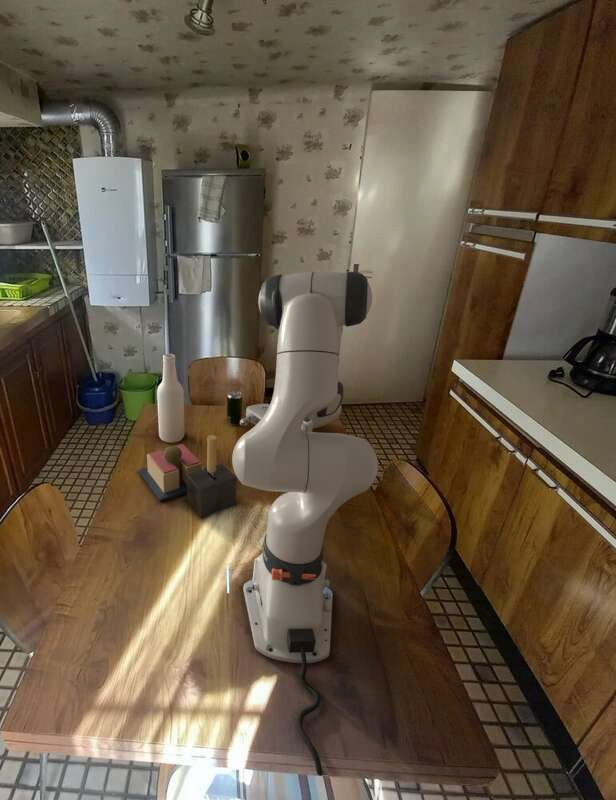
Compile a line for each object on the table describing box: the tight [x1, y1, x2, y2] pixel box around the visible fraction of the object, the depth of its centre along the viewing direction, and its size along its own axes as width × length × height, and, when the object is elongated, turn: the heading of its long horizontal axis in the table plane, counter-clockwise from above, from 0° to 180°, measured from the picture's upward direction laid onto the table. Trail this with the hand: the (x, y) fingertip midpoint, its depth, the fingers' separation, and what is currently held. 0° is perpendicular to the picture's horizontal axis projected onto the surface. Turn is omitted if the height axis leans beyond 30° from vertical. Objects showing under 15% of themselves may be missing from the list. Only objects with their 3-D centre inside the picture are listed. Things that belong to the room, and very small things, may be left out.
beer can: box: [226, 389, 243, 426], centre depth 159 cm, size 5×5×12 cm
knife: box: [206, 434, 218, 480], centre depth 115 cm, size 2×2×21 cm
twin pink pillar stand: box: [138, 443, 203, 503], centre depth 128 cm, size 16×16×8 cm
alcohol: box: [156, 353, 185, 444], centre depth 145 cm, size 9×9×30 cm
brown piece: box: [163, 445, 182, 483], centre depth 126 cm, size 6×6×11 cm
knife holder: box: [186, 463, 238, 519], centre depth 118 cm, size 8×11×9 cm
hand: (251, 431), depth 117 cm, fingers open, 8 cm apart
